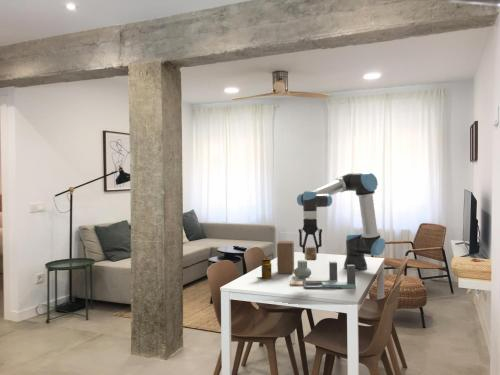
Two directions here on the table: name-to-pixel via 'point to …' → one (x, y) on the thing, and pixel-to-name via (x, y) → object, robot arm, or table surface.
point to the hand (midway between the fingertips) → (310, 259)
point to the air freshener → (302, 270)
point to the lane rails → (319, 286)
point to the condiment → (266, 269)
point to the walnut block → (310, 253)
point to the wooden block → (285, 257)
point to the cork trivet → (296, 283)
